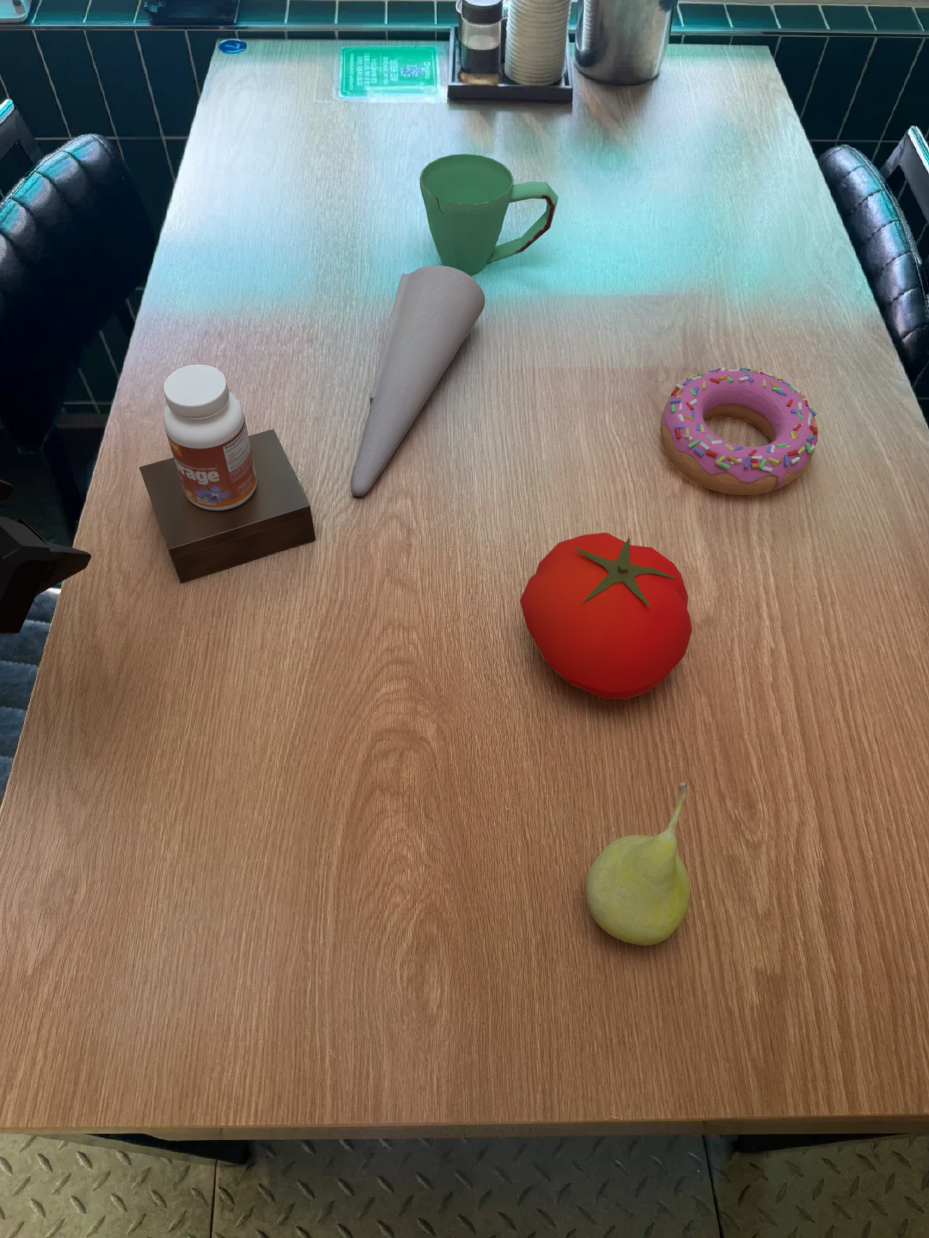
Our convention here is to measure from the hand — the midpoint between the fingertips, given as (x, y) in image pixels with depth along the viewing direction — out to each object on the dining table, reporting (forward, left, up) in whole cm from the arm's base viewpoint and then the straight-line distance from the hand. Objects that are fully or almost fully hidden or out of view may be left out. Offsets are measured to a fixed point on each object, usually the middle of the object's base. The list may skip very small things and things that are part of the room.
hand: (48, 525), depth 65 cm
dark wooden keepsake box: (+13, +8, -13) cm, 20 cm away
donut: (+59, -2, -14) cm, 61 cm away
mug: (+50, +34, -14) cm, 62 cm away
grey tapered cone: (+34, +15, -14) cm, 39 cm away
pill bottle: (+13, +8, -9) cm, 17 cm away
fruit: (+28, -36, -14) cm, 48 cm away
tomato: (+36, -17, -14) cm, 42 cm away
